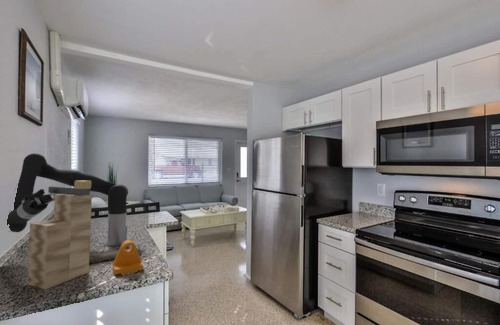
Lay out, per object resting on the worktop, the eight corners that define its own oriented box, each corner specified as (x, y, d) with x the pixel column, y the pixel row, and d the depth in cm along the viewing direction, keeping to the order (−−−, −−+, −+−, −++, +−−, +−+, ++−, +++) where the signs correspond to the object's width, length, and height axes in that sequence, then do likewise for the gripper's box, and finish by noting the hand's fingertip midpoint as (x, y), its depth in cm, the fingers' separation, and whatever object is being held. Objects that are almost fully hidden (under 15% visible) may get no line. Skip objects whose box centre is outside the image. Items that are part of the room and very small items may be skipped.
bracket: (114, 276, 99) (115, 246, 100) (112, 270, 105) (113, 241, 106) (143, 271, 105) (144, 242, 106) (140, 265, 111) (141, 238, 112)
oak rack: (27, 284, 91) (31, 195, 92) (71, 268, 106) (74, 192, 107) (45, 289, 88) (49, 197, 89) (88, 272, 103) (91, 193, 104)
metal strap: (47, 192, 104) (47, 179, 105) (57, 192, 108) (57, 179, 108) (81, 195, 98) (81, 181, 98) (90, 194, 101) (91, 180, 101)
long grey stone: (142, 259, 123) (138, 254, 131) (143, 248, 124) (139, 244, 132) (52, 270, 104) (54, 263, 112) (54, 256, 104) (55, 251, 112)
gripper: (10, 201, 104) (32, 182, 100) (47, 198, 118) (69, 181, 113) (14, 217, 103) (37, 199, 98) (52, 212, 116) (74, 196, 112)
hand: (54, 190), depth 106 cm, fingers open, 8 cm apart
